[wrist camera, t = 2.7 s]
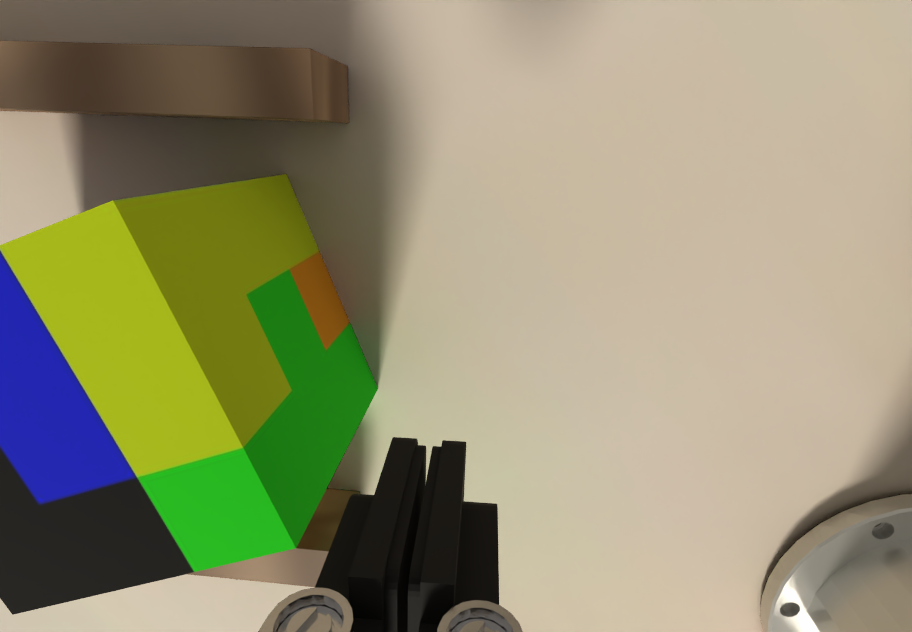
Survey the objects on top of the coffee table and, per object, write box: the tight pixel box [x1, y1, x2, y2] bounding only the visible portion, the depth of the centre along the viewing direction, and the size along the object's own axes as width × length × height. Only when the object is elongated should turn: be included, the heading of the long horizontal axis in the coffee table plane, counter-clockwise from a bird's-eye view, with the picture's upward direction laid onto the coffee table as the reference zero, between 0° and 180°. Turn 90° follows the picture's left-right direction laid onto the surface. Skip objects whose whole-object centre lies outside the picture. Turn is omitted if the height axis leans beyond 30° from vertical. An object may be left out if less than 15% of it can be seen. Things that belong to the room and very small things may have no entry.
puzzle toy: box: [0, 174, 378, 614], centre depth 19 cm, size 10×10×10 cm
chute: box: [0, 41, 360, 587], centre depth 22 cm, size 15×21×4 cm
